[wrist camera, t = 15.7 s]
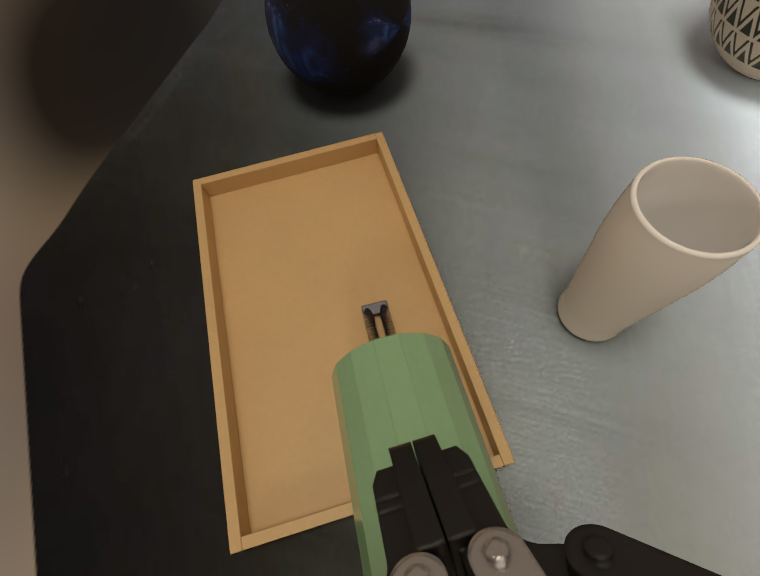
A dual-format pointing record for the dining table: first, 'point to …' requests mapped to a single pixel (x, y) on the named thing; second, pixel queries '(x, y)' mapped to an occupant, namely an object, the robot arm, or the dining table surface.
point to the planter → (737, 34)
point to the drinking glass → (660, 244)
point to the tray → (309, 322)
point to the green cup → (402, 422)
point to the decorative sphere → (339, 40)
